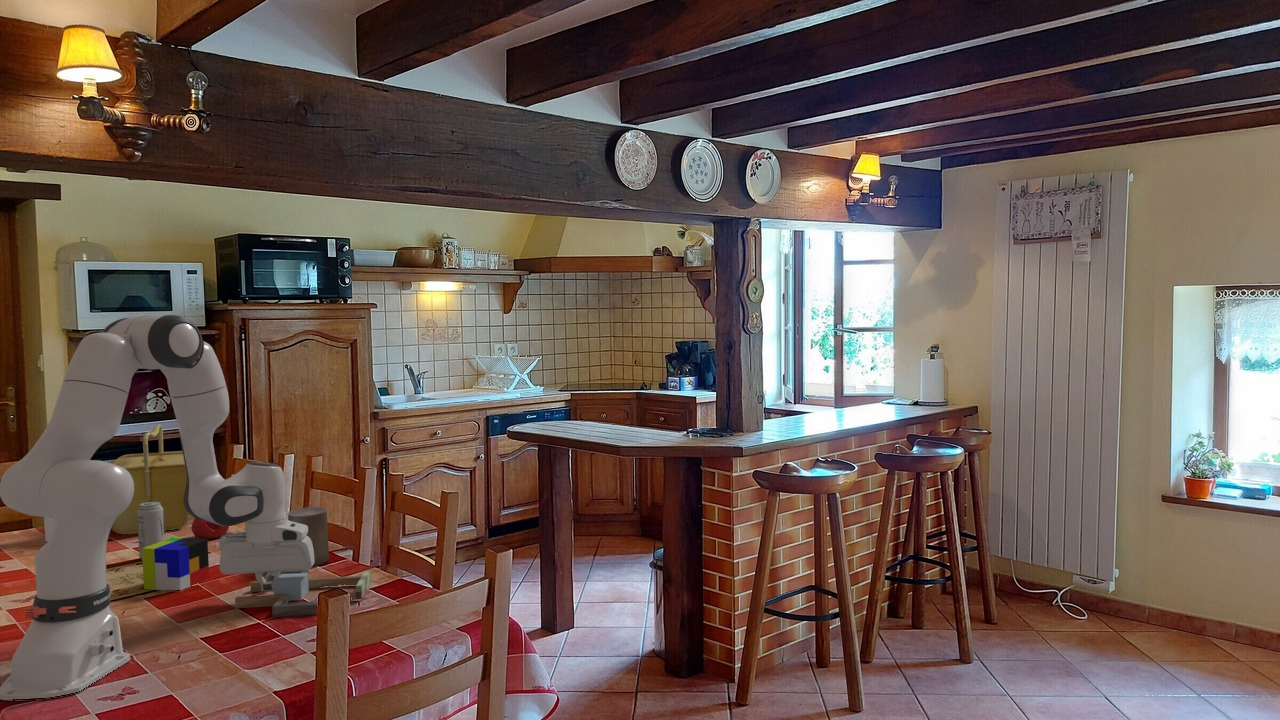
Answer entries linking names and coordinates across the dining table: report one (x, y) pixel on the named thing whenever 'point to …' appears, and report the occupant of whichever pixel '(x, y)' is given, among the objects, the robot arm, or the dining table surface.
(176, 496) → the picnic basket
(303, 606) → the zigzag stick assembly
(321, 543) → the pillar candle
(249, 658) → the dining table surface
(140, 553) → the energy drink can
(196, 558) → the puzzle toy
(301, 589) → the block
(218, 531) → the pomegranate
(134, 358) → the robot arm
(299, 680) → the dining table surface
